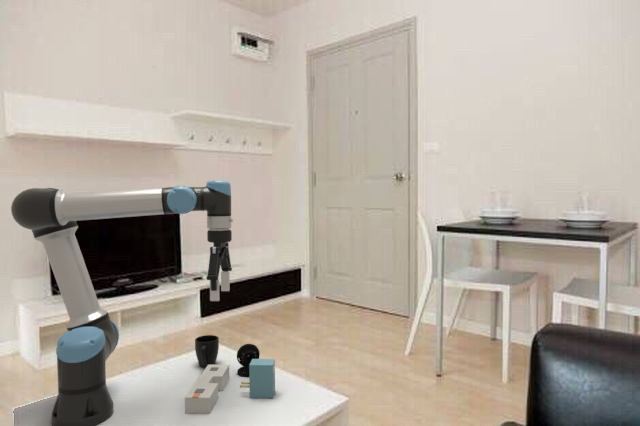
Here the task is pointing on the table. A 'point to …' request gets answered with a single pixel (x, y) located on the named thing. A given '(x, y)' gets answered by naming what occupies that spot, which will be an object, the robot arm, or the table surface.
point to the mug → (206, 350)
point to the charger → (261, 378)
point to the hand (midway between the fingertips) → (220, 295)
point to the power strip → (206, 389)
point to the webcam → (246, 358)
